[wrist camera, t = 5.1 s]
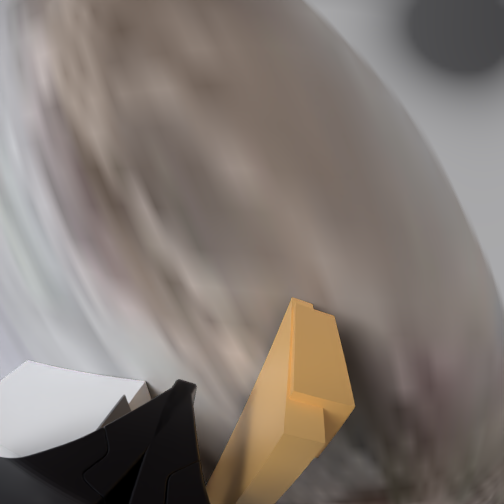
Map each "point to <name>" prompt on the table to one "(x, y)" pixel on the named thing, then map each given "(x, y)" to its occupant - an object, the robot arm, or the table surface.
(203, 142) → the table surface
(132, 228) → the table surface
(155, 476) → the robot arm
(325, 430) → the side door
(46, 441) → the block
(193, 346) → the table surface
